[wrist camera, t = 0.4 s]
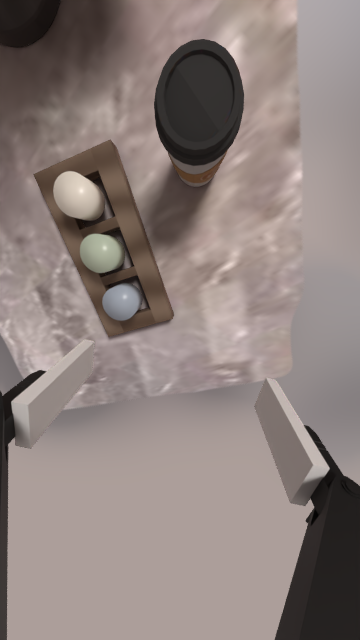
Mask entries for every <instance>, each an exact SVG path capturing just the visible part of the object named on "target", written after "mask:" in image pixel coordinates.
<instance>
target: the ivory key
mask: <svg viewBox="0 0 360 640" xmlns="http://www.w3.org/2000/svg"><path fill="white" fill-rule="evenodd" d="M53 193H54V198H55V201H56V204H57V205H58V207H59V208H60V210H61V211H62V212H64V213H65V214H66V215H68V216H71V217H74V218H78V219H83V220H87V221H93V220H96V219H98V218H99V217H100V216H101V215H102V213H103V211H104V208H105V199H104V195H103V193H102V191H101V189H100V188H99V187H98V186H97V185H96V184H95V183H93V182H92V181H90V180H88V179H87V178H85V177H84V176H82V175H80V174H79V173H77V172H73V171H67V172H64V173H62V174H61V175H59V176H58V177H57V179H56V181H55V183H54V188H53Z"/></svg>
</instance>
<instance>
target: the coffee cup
mask: <svg viewBox="0 0 360 640" xmlns="http://www.w3.org/2000/svg"><path fill="white" fill-rule="evenodd" d="M243 106H244V91H243V86H242V80H241V77H240V73H239V70H238V67H237V65H236V63H235V61H234V59H233V57H232V56H231V55H230V54H229V52H228V51H227V50H226V49H225V48H224V47H222V46H221V45H219V44H218V43H216V42H214V41H210V40H205V39H200V40H193V41H190V42H188V43H186V44H184V45H182V46H180V47H179V48H178V49H177V50H176V51H175V52H174V53H173V54H172V55H171V56H170V58H169V59H168V61H167V62H166V64H165V66H164V67H163V70H162V73H161V76H160V78H159V81H158V85H157V88H156V93H155V101H154V109H155V120H156V128H157V131H158V134H159V138H160V140H161V142H162V144H163V145H164V147H165V149H166V150H167V151H168V154H169V157H170V159H171V161H172V163H173V165H174V168H175V169H176V171H177V173H178V175H179V177H180V178H181V180H182V181H183V182H184V183H186V184H187V185H189V186H193V187H199V186H202V185H205V184H206V183H208V182H209V181H210V180H211V179H212V178H213V176H214V175H215V173H216V172H217V170H218V168H219V166H220V164H221V162H222V161H223V159H224V157H225V155H226V152H227V150H228V148H229V147H230V146H231V145H232V143H233V141H234V139H235V137H236V135H237V133H238V131H239V127H240V123H241V119H242V113H243Z"/></svg>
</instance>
